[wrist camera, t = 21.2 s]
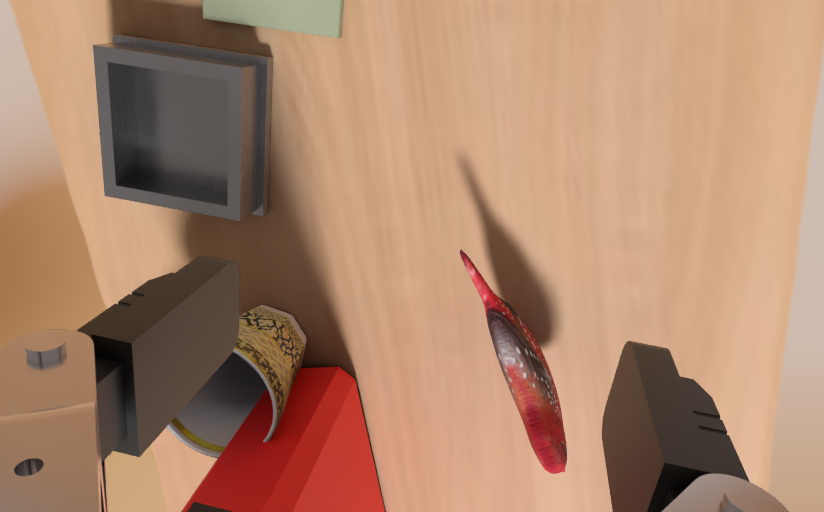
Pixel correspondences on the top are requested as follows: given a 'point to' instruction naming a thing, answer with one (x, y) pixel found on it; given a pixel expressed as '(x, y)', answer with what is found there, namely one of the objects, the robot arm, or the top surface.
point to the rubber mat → (280, 14)
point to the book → (299, 454)
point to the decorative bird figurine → (525, 375)
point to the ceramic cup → (244, 381)
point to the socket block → (185, 125)
